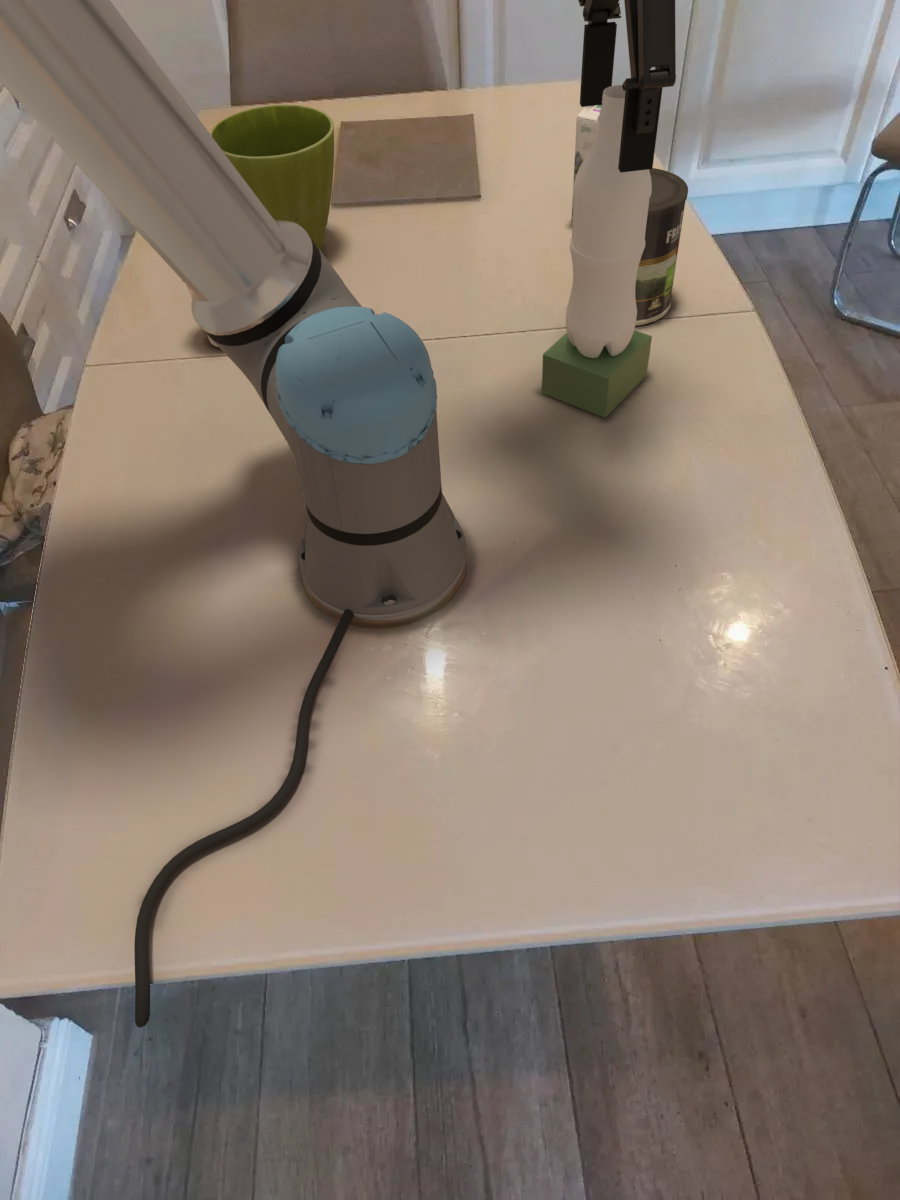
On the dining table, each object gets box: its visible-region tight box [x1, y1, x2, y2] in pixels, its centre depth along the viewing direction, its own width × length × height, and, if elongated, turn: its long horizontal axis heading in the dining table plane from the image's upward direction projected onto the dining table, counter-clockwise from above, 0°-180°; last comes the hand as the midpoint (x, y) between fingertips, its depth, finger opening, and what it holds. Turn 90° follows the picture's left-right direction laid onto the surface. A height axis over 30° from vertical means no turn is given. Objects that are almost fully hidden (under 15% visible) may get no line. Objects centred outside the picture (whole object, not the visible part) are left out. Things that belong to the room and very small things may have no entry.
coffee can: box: [635, 167, 689, 327], centre depth 105 cm, size 10×10×14 cm
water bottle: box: [565, 84, 652, 358], centre depth 87 cm, size 7×7×25 cm
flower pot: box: [209, 104, 335, 252], centre depth 115 cm, size 15×15×16 cm
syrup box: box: [570, 105, 602, 226], centre depth 117 cm, size 6×6×14 cm
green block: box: [541, 329, 653, 419], centre depth 98 cm, size 9×8×5 cm
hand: (613, 135), depth 80 cm, fingers open, 13 cm apart
